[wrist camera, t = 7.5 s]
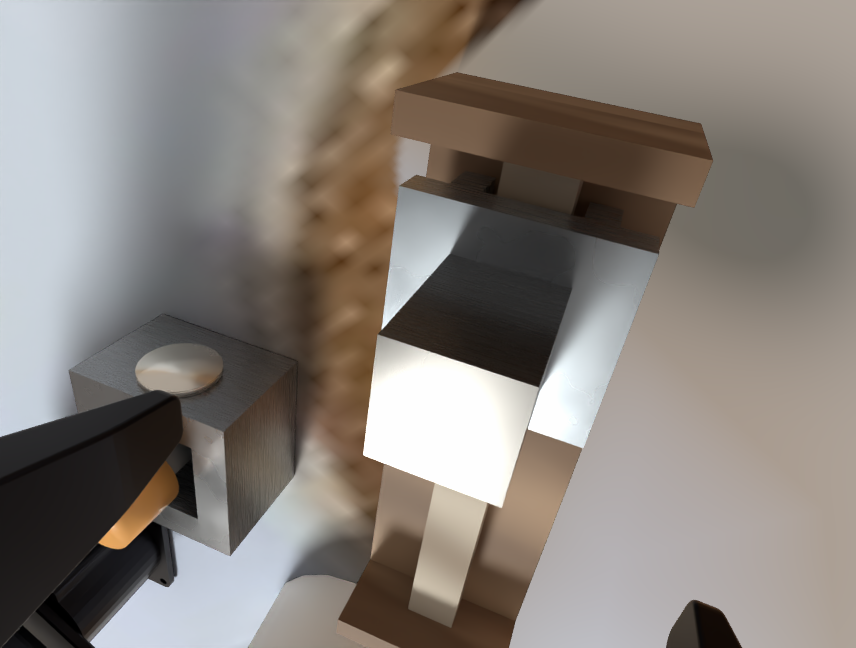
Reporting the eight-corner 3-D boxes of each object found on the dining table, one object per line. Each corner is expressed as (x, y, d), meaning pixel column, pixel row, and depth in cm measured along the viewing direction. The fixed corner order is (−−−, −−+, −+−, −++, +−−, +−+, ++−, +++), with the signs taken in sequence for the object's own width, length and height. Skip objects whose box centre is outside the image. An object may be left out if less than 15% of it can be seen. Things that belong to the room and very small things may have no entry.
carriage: (593, 395, 18) (558, 579, 12) (408, 335, 20) (298, 474, 14) (660, 218, 15) (656, 351, 9) (434, 162, 17) (306, 246, 11)
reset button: (210, 481, 25) (134, 560, 21) (153, 457, 25) (70, 529, 22) (206, 429, 23) (124, 504, 20) (146, 405, 24) (55, 473, 20)
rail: (517, 605, 27) (492, 705, 23) (381, 548, 28) (336, 633, 25) (700, 123, 15) (713, 160, 12) (456, 72, 17) (395, 90, 13)
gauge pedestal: (293, 476, 28) (230, 556, 24) (175, 428, 30) (96, 495, 26) (297, 355, 24) (223, 425, 20) (162, 308, 26) (67, 363, 22)
